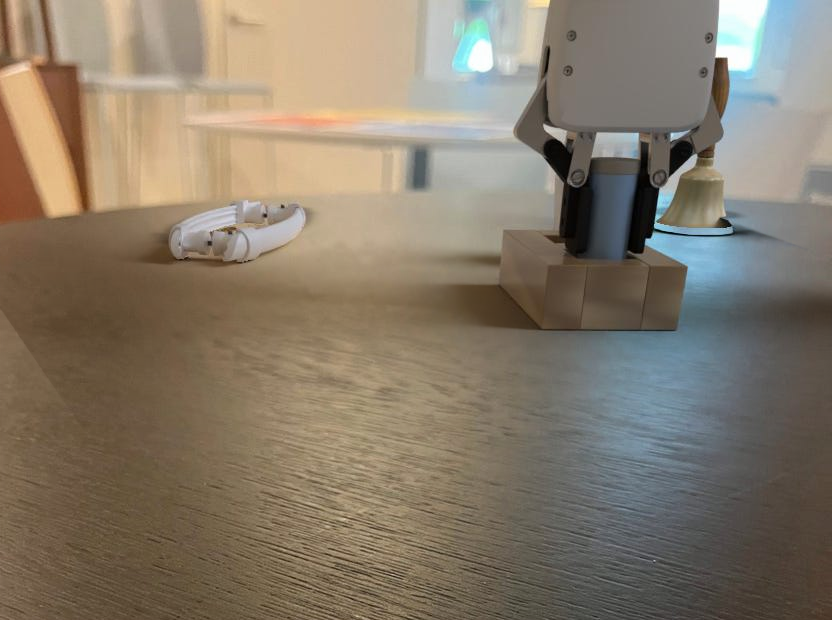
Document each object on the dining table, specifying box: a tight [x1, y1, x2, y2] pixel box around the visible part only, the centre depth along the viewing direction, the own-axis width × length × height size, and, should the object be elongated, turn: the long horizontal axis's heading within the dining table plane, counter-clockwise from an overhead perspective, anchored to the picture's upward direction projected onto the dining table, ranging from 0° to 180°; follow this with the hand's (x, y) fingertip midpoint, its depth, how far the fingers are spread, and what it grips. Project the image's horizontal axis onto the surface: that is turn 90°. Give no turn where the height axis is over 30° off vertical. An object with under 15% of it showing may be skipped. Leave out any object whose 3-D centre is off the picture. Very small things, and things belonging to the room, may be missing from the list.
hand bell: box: [655, 56, 733, 228], centre depth 104 cm, size 8×8×16 cm
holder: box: [498, 229, 689, 331], centre depth 72 cm, size 9×16×4 cm, turn 3°
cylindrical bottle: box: [578, 156, 641, 259], centre depth 68 cm, size 3×3×9 cm
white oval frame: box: [168, 199, 307, 263], centre depth 94 cm, size 3×10×25 cm
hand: (603, 247), depth 68 cm, fingers closed on cylindrical bottle, 3 cm apart
